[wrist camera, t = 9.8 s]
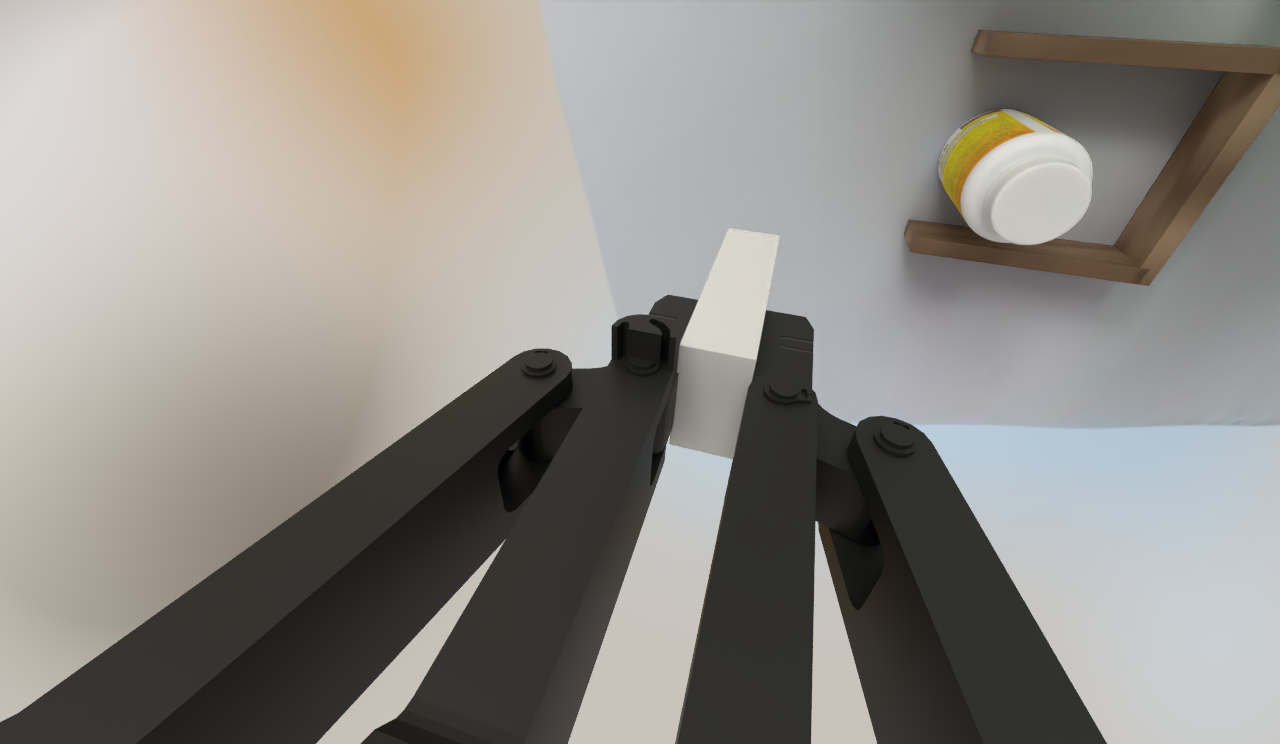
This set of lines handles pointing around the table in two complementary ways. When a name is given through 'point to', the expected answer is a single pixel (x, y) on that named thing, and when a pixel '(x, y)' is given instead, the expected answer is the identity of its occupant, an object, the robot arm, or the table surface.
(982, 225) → the supplement bottle
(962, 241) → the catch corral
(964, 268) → the table surface
